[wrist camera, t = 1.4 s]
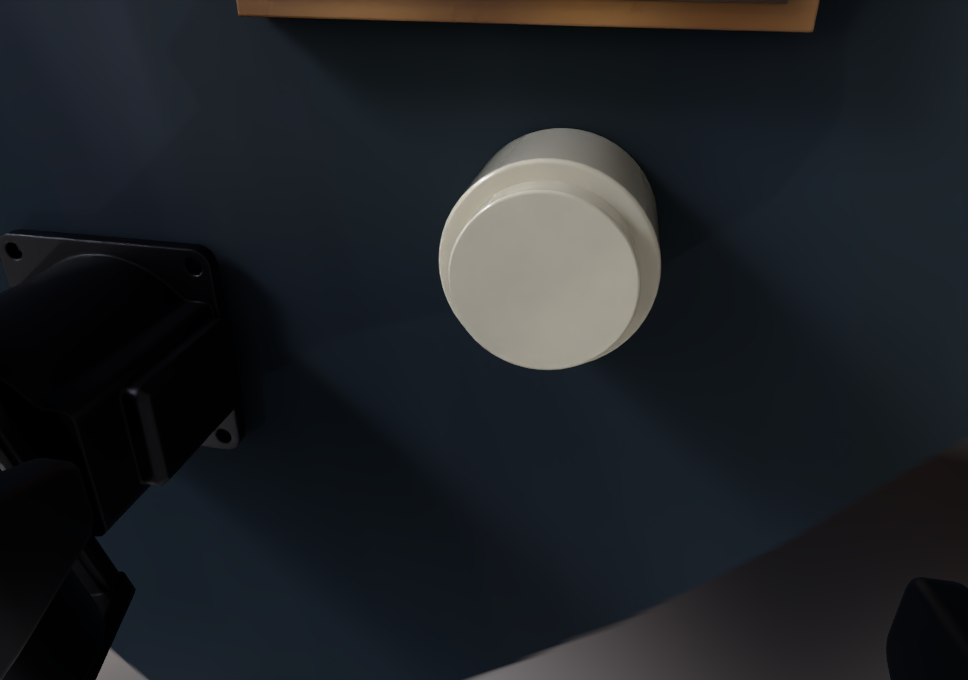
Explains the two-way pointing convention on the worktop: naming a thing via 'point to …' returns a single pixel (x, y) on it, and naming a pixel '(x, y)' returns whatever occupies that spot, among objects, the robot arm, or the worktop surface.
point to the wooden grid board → (559, 12)
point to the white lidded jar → (553, 250)
